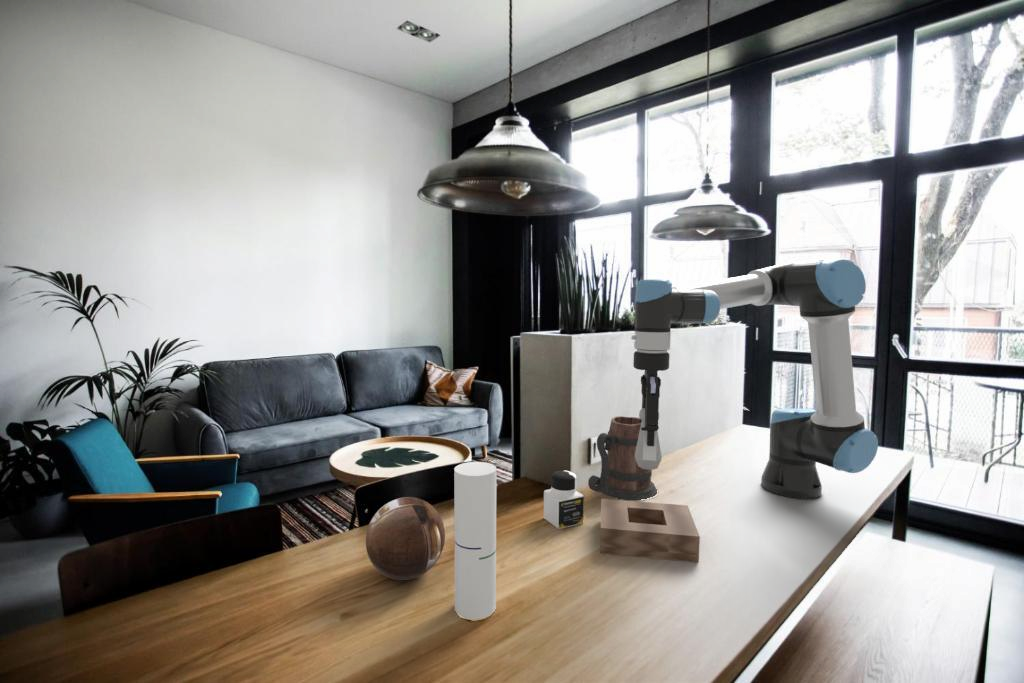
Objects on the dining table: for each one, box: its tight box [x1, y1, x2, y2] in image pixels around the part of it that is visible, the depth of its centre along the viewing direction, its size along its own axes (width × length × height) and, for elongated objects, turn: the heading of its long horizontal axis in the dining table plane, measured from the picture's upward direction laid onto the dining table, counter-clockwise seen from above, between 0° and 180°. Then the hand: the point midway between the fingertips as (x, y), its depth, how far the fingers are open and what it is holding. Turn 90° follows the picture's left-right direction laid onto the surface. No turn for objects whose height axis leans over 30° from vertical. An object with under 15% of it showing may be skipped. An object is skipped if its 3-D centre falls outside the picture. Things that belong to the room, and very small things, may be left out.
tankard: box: [587, 415, 658, 501], centre depth 142 cm, size 24×17×20 cm
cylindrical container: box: [453, 461, 497, 620], centre depth 87 cm, size 7×7×25 cm
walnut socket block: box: [599, 498, 701, 563], centre depth 114 cm, size 20×16×6 cm
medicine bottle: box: [543, 469, 585, 530], centre depth 123 cm, size 7×7×12 cm
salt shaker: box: [635, 408, 663, 471], centre depth 112 cm, size 6×6×13 cm
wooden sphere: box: [365, 496, 446, 581], centre depth 99 cm, size 15×15×15 cm
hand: (648, 455), depth 112 cm, fingers closed on salt shaker, 6 cm apart
